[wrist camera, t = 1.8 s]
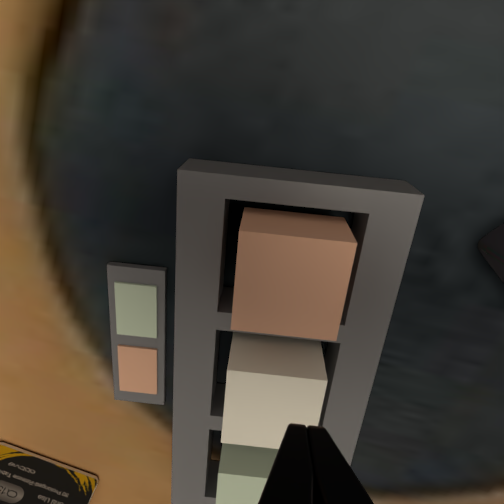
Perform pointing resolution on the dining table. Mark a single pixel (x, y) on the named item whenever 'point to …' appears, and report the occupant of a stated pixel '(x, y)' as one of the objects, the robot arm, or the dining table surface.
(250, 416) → the key ivory
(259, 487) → the key sage
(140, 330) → the strip
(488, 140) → the dining table surface
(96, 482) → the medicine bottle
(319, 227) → the key terracotta
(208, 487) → the keypad frame
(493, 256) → the red white panel box
